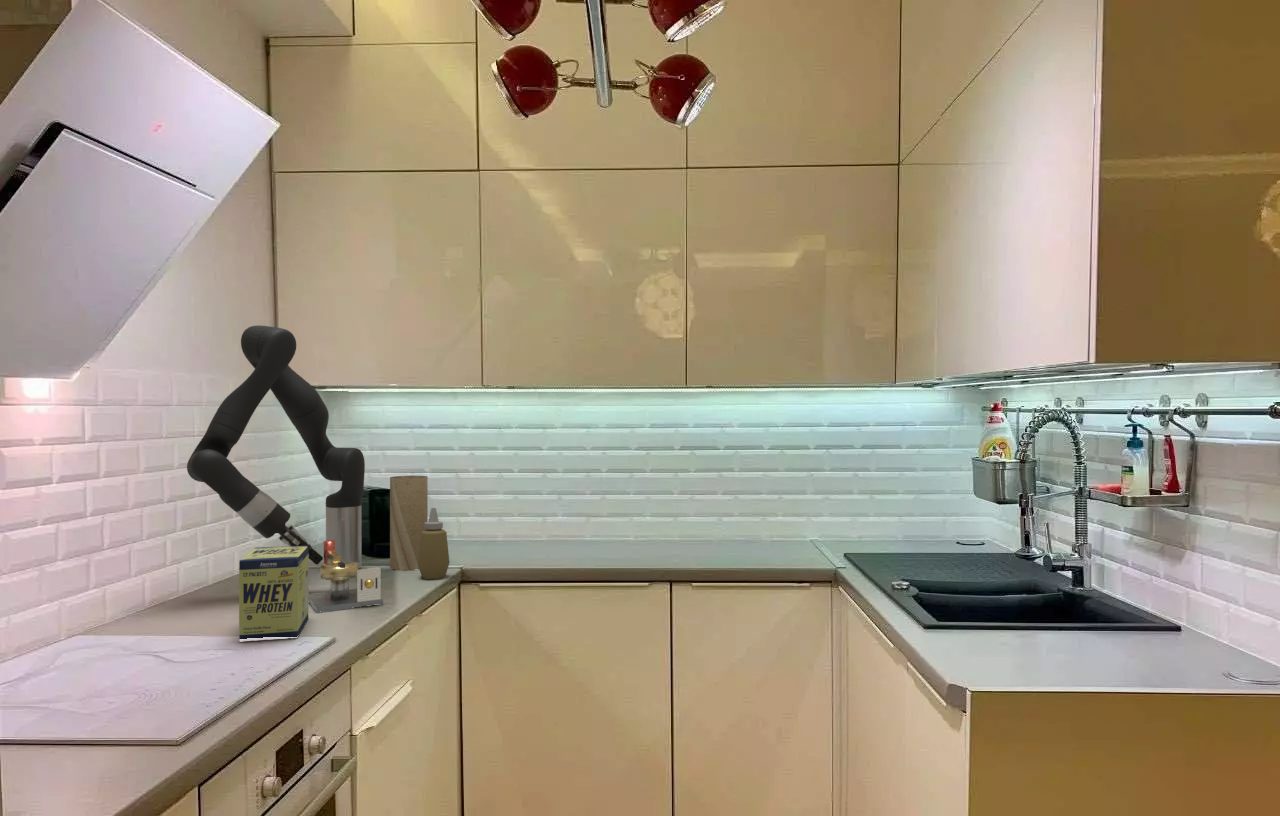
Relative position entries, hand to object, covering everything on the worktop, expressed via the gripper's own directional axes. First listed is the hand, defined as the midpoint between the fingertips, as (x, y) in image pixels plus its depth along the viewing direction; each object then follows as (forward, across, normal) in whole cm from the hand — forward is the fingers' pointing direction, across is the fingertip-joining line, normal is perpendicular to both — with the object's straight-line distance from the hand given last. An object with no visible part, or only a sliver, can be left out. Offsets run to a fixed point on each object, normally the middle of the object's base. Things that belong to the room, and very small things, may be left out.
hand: (319, 561), depth 191 cm
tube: (+24, +19, -13) cm, 33 cm away
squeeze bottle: (+25, +2, -14) cm, 29 cm away
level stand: (+7, -14, +3) cm, 16 cm away
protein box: (-4, -31, +14) cm, 34 cm away
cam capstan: (+3, -8, 0) cm, 9 cm away
